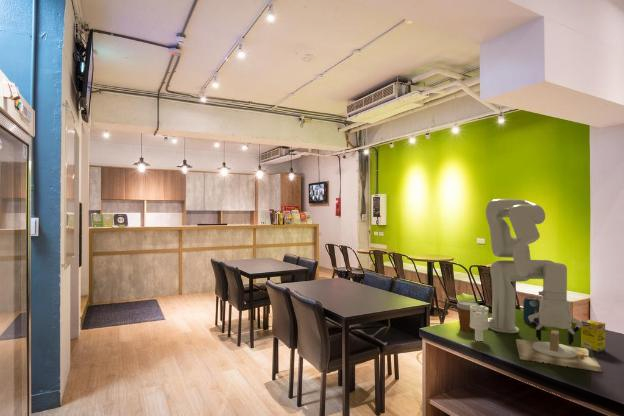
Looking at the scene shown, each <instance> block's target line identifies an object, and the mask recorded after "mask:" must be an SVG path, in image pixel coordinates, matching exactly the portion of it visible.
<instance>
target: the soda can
mask: <svg viewBox="0 0 624 416" xmlns="http://www.w3.org/2000/svg"><path fill="white" fill-rule="evenodd" d="M539 306H540V300H539V298H538V297H533V296H525V297H524V299H523V307H522V308H523V309H522V310H523V311H522V312H523V315H522V316H523V317H522V319H523V321H524V323H527V324H531V322H530V320H529V318H528V316H530V315H533V314H536V313H539ZM533 321H534V322H535V323H536V324H537V323H539V317H537V318H534V319H533ZM531 325H532V324H531Z"/></svg>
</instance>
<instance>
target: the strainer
mask: <svg viewBox="0 0 624 416" xmlns="http://www.w3.org/2000/svg"><path fill="white" fill-rule="evenodd" d="M476 308H478V309H476ZM473 311H476V312H473ZM488 319H489V307H487V306H485V305H480V304H478V306H477V305H473V306H470V327H471V328H473V329H475V331H474V341H475V340H476V341H475V342H477V341H483V342H484V338H483V337H484V331H487V330H489V327H488V325H489V323H488Z"/></svg>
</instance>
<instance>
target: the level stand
mask: <svg viewBox="0 0 624 416" xmlns="http://www.w3.org/2000/svg"><path fill="white" fill-rule="evenodd" d="M535 342H536V341H533V340H528V339H527V340H526V339H520V338H519V339H518V338H516V339H515V344H516V347H517V352H518V356H519V360H523V361H524V360H525V361H529V360H531V362H535V361H536V363H542V362H544V363H543V364H548V363H550V365H556V366H561V367H567V366H568V367H569V368H575V369H581V370H588V371H594V372H602V366H601V365H600V364H599V363H598V361H597V360H596V359H595V357H594V352H593V348H588V350H587V349H586V348H581V347H578V346H572V345H568V346H569V347H571V348H573V349H575V350H576V351H577V357H575V358H558V357H552V356H548V355H545V354H542V353H539V352H537V351H535V350H534V349H533V343H535ZM579 351H582V357H579ZM537 361H538V362H537Z"/></svg>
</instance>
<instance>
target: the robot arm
mask: <svg viewBox="0 0 624 416" xmlns="http://www.w3.org/2000/svg"><path fill="white" fill-rule="evenodd" d="M485 217H486V221H487V224H488V227H489V235H490V236H489V237H490V243H491V244H490V245H491V252H492V254H493V256H495V257H497V258H507V259H504V260H496V261H493V262H492V263H491V264H490V268H489V269H490V272H489V273H490V277H491V286H492V288H491V290H492V292H491V293H492V294H491V295H492V298H491V299H492V303H491V306H492V307H491V308H492V309H491V310H492V311H491V312H492V313H491V316H490V317H488V329H490V330H492V331H493V332H498V333H504V334H517V333H519V332H520V328H519V327H517V326H516V300H517V299H516V296H517V295H516V294H517V293H516V290H515V288H514V286H513V284H512V283H511V282H527V281H529V280H542V281H543V282H542V283H543V285H542V291H538V295H539V296H541V298H540V300H539V302H540V306H539V313H536V314H533V315H530V316H528V318H529V320H530V322H531V325H532V326H533V327H534V328H535V338H537V339H538V342H541V341H542V330H541V328H543V327H546V328H557V329H564V330H567V343H568V346H572V343H574V335H575V334H576V333H577V332H579V331H580V330H581V326H582V325H583V323H582V322H581V321H580V320H578V319H576V317H575V318H574V317H573V316H572V308H571V303H570V301H569V300H568V297H567V296H568V267H567V265H566V264H564V263H560V262H555V261H552V260H549V259H548V260H547V259H531V251H530V246H529V245H531V244H533V243H535V242H536V241H538V240H539V239H540V235H541V234H540V232H539V229H538V228H537V225H540V224H543V223H544V222H545V220H546V213H545V210H544V209H543V207H541V206H540V205H539V204H536V203H534V202H531V201H529V200H525V199H517V198H515V199H514V198H512V199H511V198H497V199H496V198H495V199H492V200H490V201H489V202H488V203H487V205H486V208H485ZM504 218H509V221H510V224H511V227H512V229H513V232H514V235H515V237H514V236H513V237H512V235H511V228H510V225H509V224H508V222H507V221H506V220H505V219H504ZM508 258H510V259H511V258H512V260H509V259H508ZM537 317H539V323H537V324H536V323H535V322H534V321H533V319H534V318H537ZM573 323H575V326H573V327H572V324H573Z"/></svg>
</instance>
